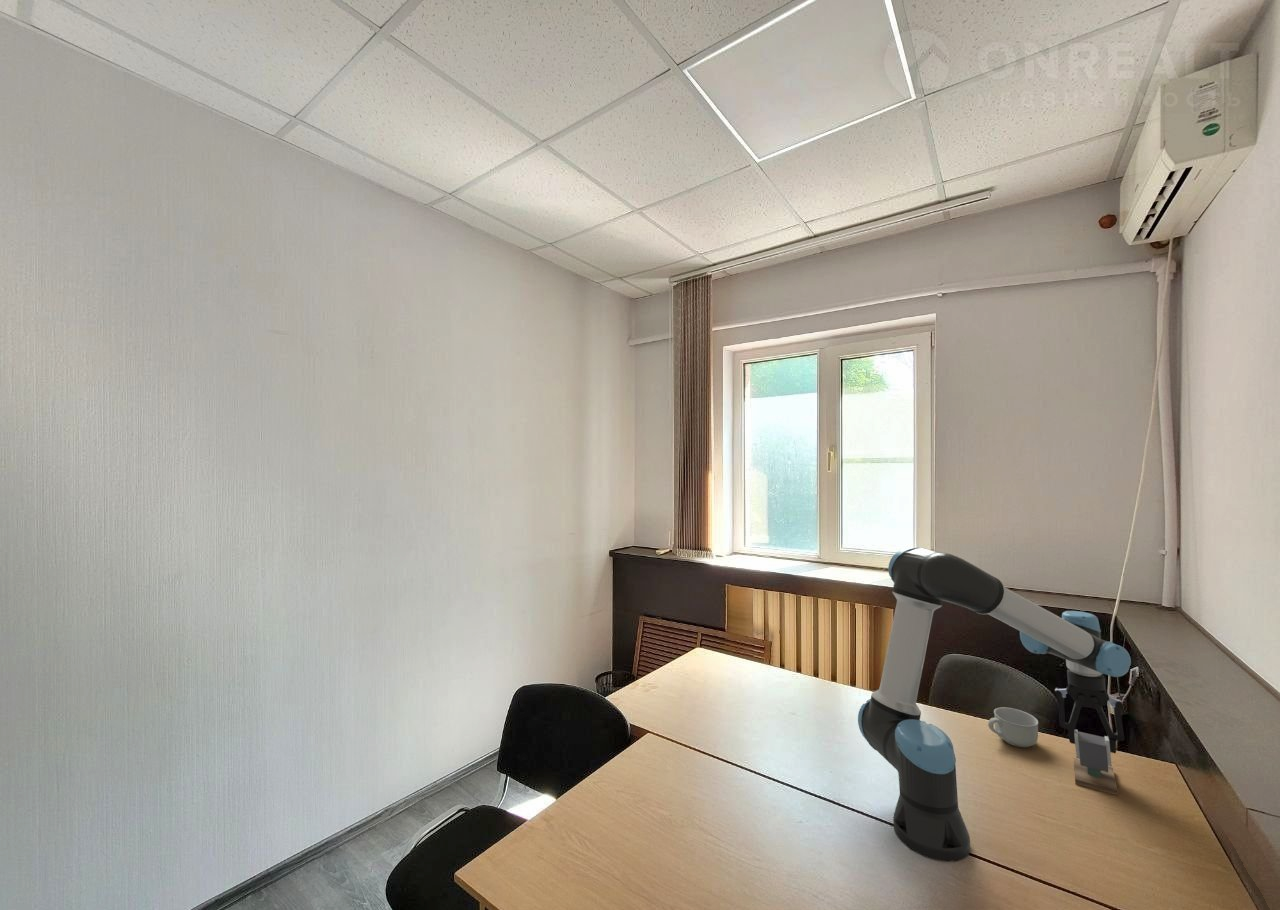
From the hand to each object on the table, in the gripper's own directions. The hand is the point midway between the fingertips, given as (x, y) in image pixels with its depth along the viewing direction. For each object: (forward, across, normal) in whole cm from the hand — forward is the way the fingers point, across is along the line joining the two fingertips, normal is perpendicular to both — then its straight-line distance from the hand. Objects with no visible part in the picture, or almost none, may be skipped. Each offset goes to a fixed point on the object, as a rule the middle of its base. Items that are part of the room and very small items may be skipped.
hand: (1093, 759), depth 130 cm
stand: (+5, 0, 0) cm, 5 cm away
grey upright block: (+1, 0, 0) cm, 1 cm away
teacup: (+5, +18, -9) cm, 21 cm away
